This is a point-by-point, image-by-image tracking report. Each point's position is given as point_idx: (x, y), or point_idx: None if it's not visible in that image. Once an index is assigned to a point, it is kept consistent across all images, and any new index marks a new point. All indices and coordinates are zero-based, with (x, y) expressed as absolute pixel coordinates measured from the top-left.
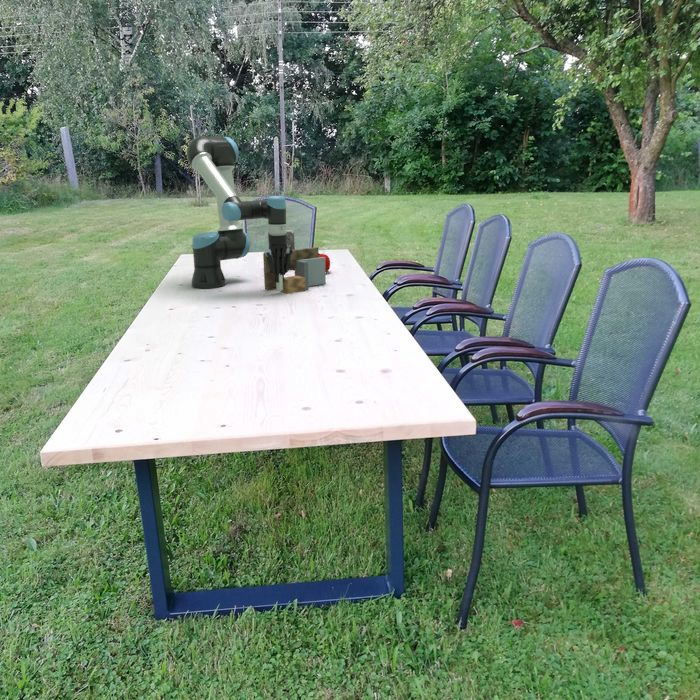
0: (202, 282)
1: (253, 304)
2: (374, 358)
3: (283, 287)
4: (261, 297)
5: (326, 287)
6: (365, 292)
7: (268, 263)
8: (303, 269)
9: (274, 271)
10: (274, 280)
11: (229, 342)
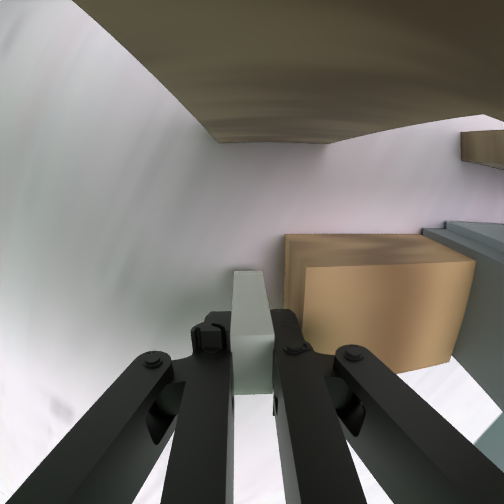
0: None
1: (42, 390)
2: None
3: (289, 289)
4: (94, 315)
5: None
6: (477, 427)
7: (64, 454)
8: (489, 378)
9: (163, 425)
10: (306, 134)
11: None
